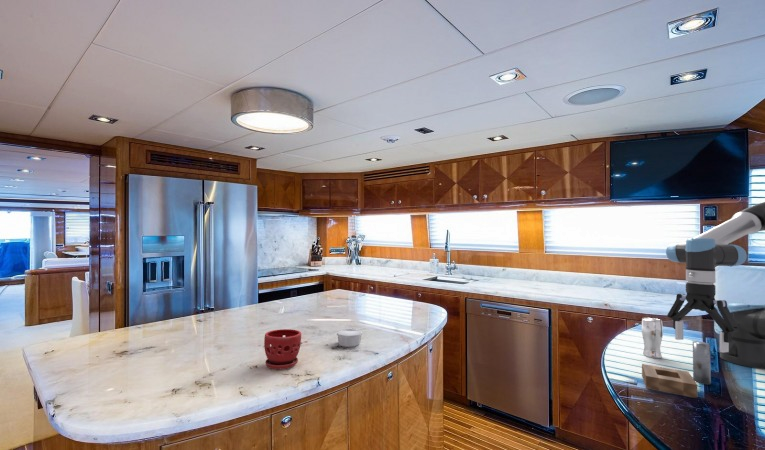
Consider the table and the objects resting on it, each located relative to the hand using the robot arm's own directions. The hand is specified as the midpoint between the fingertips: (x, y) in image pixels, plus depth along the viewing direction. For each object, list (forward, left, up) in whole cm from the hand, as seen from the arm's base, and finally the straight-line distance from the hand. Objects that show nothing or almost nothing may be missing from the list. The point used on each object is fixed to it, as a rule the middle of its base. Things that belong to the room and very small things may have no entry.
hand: (700, 345), depth 118 cm
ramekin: (+124, +35, -13) cm, 129 cm away
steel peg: (0, 0, -12) cm, 12 cm away
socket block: (+10, +11, -12) cm, 19 cm away
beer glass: (+11, -23, -13) cm, 28 cm away
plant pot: (+129, +69, -13) cm, 146 cm away
